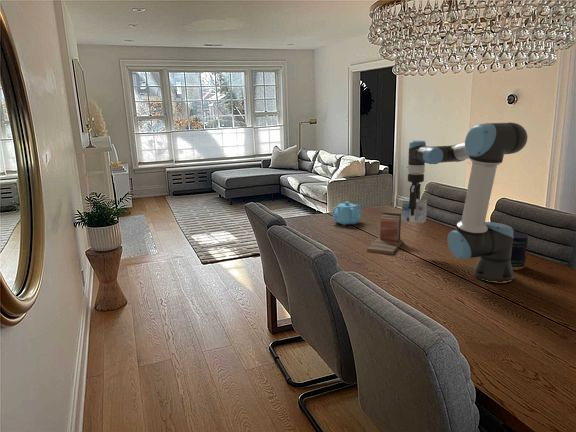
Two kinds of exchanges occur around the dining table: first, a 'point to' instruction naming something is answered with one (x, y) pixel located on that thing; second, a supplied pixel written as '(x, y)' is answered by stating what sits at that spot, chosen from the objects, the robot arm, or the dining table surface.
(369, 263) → the dining table surface
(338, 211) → the decorative pot
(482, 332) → the dining table surface
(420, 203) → the light bulb box
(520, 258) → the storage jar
